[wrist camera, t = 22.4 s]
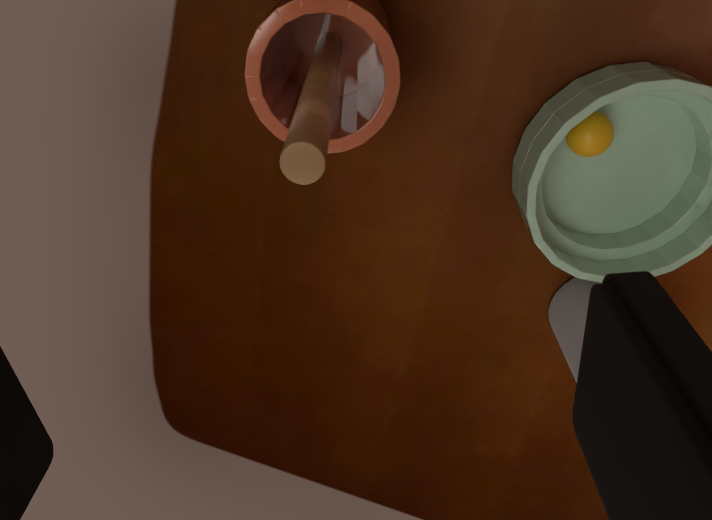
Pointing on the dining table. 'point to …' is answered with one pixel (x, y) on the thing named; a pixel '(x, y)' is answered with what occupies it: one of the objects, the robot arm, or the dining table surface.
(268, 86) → the utensil pot
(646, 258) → the bowl
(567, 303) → the cup
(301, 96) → the stirring stick
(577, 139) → the ball
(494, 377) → the dining table surface
